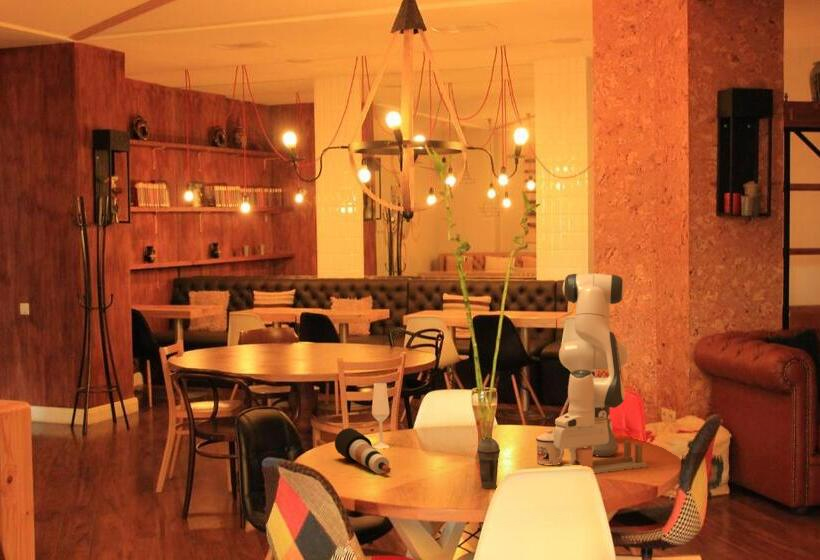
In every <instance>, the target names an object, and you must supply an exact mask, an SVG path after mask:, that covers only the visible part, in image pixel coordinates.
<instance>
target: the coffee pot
mask: <svg viewBox="0 0 820 560" xmlns="http://www.w3.org/2000/svg"><path fill="white" fill-rule="evenodd" d="M609 418H610V417H609ZM609 418H606V419H607V422H608V426H607V427H608V433H609V441H608V443H607V444H602V445H595V449H594V451H593V455H598V456H609V457H612V456H611V455H613V456H614V454H616V453H617V452H618V451H619V445H618V443H617V440H616V437H615V435H614V433H612V432H613V429H612V430H611V428H610V426H609V424H610V421H611V422H612V419H611V418H610V419H609ZM604 420H605V419H604ZM585 448H588V446H585ZM588 449H589V448H588ZM598 456H597V457H598Z"/></svg>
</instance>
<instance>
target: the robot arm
mask: <svg viewBox="0 0 820 560" xmlns="http://www.w3.org/2000/svg"><path fill="white" fill-rule="evenodd" d="M625 292H626V285H625V282H624V280H623V278H622V277H621V276H619V275H617V274H605V273H581V274H580V273H579V274H577V273H571V274H568V275H566V276H565V279H564V281H563V284H562V293H563V296H564V299H565V300H566V301H567V302H569V303H572V304H575V303H576V304H575V305H576V306H575V313H574V329H575V333H576V334H577V336H578V337H579V338H580V339H579V340H577V339H576V340H570V341H567V342H563V344H561V347H560V348H559V351H558V358H559V361H560V363H561V364H562V366H563V367H564V368H566V369H568V371H569V372H570V374H569V378H568V386H567V399H568V403H569V404H568V409H567V411H568V412H566V413H565V414H563V415H561V416H559V417H557V418H555V420H554V424H555V425H556V426H555V428H554V432H553V433H554V446H555V447H556V448H558V449H564V450H567V449H568V451H569V453H570V456H571V455H572V460H573V461H577V460H578V455H576V454H575V452H574V451H576V447H585V448H586V446H588V448H589V449H591V450H593V451H594V449H595V445H602V444H607V443H608V441H609V433H608V427H607V426H608V422H607V419H606V418H609V419H611V417H610V414H611V413H610V411H611V409H616V408H617V407H619V406H620V405H621V404H623V403H624V401H625V397H626V390H625V386H624V382H623V376H622V370H621V369H622V368H623V367H624V366H625V365H626V363H627V361H628V359H629V351H628V348H627V347H626V345H625V344H624V342H622V341H621V340H619V339H618V338H617V337H616V335H615V333H614V332H613V331H612V330H611V325H610V304H611V305H615V304H619V303H620V302H621V301H622V300H623V298H624V296H625ZM592 370H608V376H607V377H597V376H595V375H594V374H593V372H592ZM604 419H605V420H604ZM609 426H610V428H611V430H612V433H613V425H612V420H611V421H610V424H609ZM613 434H614V433H613Z"/></svg>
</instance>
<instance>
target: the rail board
mask: <svg viewBox="0 0 820 560" xmlns="http://www.w3.org/2000/svg"><path fill="white" fill-rule="evenodd" d="M623 452H624V453H623V454H624V455H623V456H618V457H611V458H610V457H609V458H601V459H594V460H593V467H592V469H593V471H594V472H595V473H597V474H601V473H600V472H604V473H609V472H608V471H612V472H617V471H616V470H619V471H625V470H624V469H627V470H633V469H632V468H634V469H641V468H640V467H642V468H647V467H648V463H647V462H644V461H643V445H642V444H640V443H637V444H634V458H633V456H632V442H631V441H630V440H624V441H623ZM568 465H571V463H564V464H563V465H562V467H563V466H568ZM572 465H580V462H577V463H572Z"/></svg>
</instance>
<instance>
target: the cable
mask: <svg viewBox="0 0 820 560" xmlns="http://www.w3.org/2000/svg"><path fill="white" fill-rule="evenodd" d="M334 447H335V450H336V451H337V453H338V454H340V455H341V456H342V457H344V458H345V459H346V460H347V461H349V462H350V463H353V464H355V465H356V464H360V465H362V466H363V467H365V468H367V469H369V470H371V471H372V472H374V473H376V474H377V475H382V474H381V473H383V474H385V473H386V474H389V473H391V471H392V469H391V467H390V461H389V459H388V458H387V456H384V455H383V454H382V453H381V452H379V451H378V449H376V448H373V445H372V441H371V440H370V439H369V437H367V436H365V435H363V434H362V433H361V432H359V431H358V430H356V429H354V428H350V427H347V428H343V429H342V430H340V431H339V433H338V434H336V437H335V440H334Z"/></svg>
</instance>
